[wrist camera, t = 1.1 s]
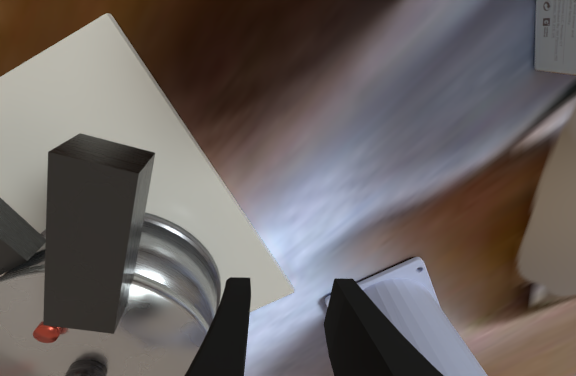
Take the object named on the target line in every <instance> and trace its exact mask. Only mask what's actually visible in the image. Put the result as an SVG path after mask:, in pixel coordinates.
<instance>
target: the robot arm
mask: <svg viewBox="0 0 576 376" xmlns="http://www.w3.org/2000/svg"><path fill="white" fill-rule="evenodd" d="M419 267H420V268H419ZM417 268H418V269H417ZM250 303H251V282H250V278H243V277H230V278H229V279H227V280H226V284H225V289H224V292H223V295H222V298H221V301H220V304H219V306H218V309H217V312H216V314H215V316H214V319H213V321H212V323H211V325H210V327H209V330H208V332H207V334H206V336H205V338H204V340H203V342H202V344H201V346H200V348H199V350H198V352H197V354H196V355H195V357H194V359H193V361H192V363H191V365H190V367H189V369H188V370H187V372H186V374H185V376H244V368H245V359H246V347H247V336H248V325H249V314H250ZM325 304H326V306H327V308H328V309H327V313H326V317H325V321H324V328H325V335H326V341H327V347H328V352H329V358H330V361H331V365H332V369H333V372H334V376H488V375H487V374H486V373H485V371H484V370H483V368H482V367H481V365H480V364H479V363H478V361H477V360H476V358H475V357H474V355H473V354H472V353H471V351H470V350H469V348H468V347H467V345H466V344H465V342H464V341H463V340H462V338H461V337H460V335H459V334H458V332H457V331H456V330H455V328H454V327H453V325H452V324H451V322H450V321H449V320H448V318H447V317H446V315H445V314H444V312H443V311H442V310H441V308H440V305H439V302H438V299H437V297H436V294H435V291H434V288H433V286H432V283H431V280H430V277H429V275H428V272H427V269H426V266H425V264H424V262H423V260H422V259H421V258H420V257H415V258H412V259H410V260H408V261H405V262H403V263H401V264H399V265H396V266H394V267H392V268H390V269H387V270H385V271H383V272H381V273H378V274H376V275H374V276H372V277H369V278H367V279H365V280H363V281H361V282H358V283H356V282H355V281H354V280H353V279H334V283H333V287H332V292H331V295H329V296H327V297H326V298H325Z"/></svg>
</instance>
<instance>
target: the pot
mask: <svg viewBox="0 0 576 376" xmlns="http://www.w3.org/2000/svg"><path fill="white" fill-rule="evenodd" d="M45 244H46V229H45V230H44V231H43V232H42V233H41V234H40V233H39V232H37V231H36V230H35V229H34V228H33V227H32V226H31V225H30V224H29V223H28V222H27V221H25V220H24V219H23V218H22V217H21V216H20V215H19V214H18V213H17V212H16V211H15V210H13V209H12V208H11V207H10V206H9V205H8V204H7V203H6V202H5V201H4V200H2V199H1V198H0V275H2V274H4V273H5V274H4V275H6V274H8V273H10V272H13V271H17V270H20V269H24V268H27V267H32V266H38V265H44V264H45ZM135 273H137V274H140V275H143V276H146V277H148V278H150V279H153V280H155V281H157V282H160V283H161V284H163V285H165V286H167V287H168V288H170V289H172V290H174V291H175V292H177V293H178V294H179V295H181V296H182V297H183V298H185V299H186V300H187V301H188V302H189V303H191V304H192V305H193V306H194V307H195V308H196V309H197V310H198V312H199V313H200V314H201V315H202V317H203V318H204V319H205V321H206V322H207V324H208V326H209V327H210V325H211V323H212V321H213V319H214V316H215V314H216V312H217V309H218V306H219V303H220V296H221V279H220V274H219V271H218V267H217V265H216V263H215V261H214V259H213V257H212V256H211V254H210V253H209V251H208V250H207V249H206V248H205V246H204V245H203V244H202V243H201V242H200V241H199V240H198V239H197V238H195V237H194V236H193V235H192V234H191V233H189V232H188V231H186V230H185V229H183V228H182V227H180V226H179V225H177V224H175V223H173V222H171V221H169V220H167V219H164V218H161V217H159V216H156V215H153V214H149V213H146V212H145V216H144V222H143V227H142V233H141V239H140V245H139V250H138V256H137V262H136V268H135Z"/></svg>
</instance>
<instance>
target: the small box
mask: <svg viewBox="0 0 576 376" xmlns="http://www.w3.org/2000/svg"><path fill="white" fill-rule="evenodd" d="M534 66H535V70H537V71H545V72H553V73H560V74H569V75H576V0H536V19H535V65H534Z"/></svg>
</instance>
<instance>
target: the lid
mask: <svg viewBox="0 0 576 376" xmlns="http://www.w3.org/2000/svg"><path fill="white" fill-rule="evenodd" d="M154 158H155V153H154V152H151V151H147V150H143V149H139V148H135V147H131V146H127V145H123V144H120V143H116V142H112V141H108V140H104V139H100V138H96V137H93V136H89V135H85V134H81V133H80V134H78V135H76V136H74V137H73V138H71V139H69V140H68V141H66V142H64V143H62V144H61V145H59V146H57V147H56V148H54V149H52V150H50V151H49V152H48V172H47V208H46V244H45V264H44V265H38V266H32V267H27V268H24V269H20V270H17V271H13V272H10V273H8V274H6V275H3V276H1V277H0V376H185V374H186V372H187V370H188V369H189V367H190V365H191V363H192V361H193V359H194V357H195V355H196V354H197V352H198V350H199V348H200V346H201V344H202V342H203V340H204V338H205V336H206V334H207V332H208V330H209V326H208V324H207V322H206V321H205V319H204V318H203V317H202V315H201V314H200V313H199V312H198V310H197V309H196V308H195V307H194V306H193V305H192V304H191V303H189V302H188V301H187V300H186V299H185V298H183V297H182V296H181V295H179V294H178V293H177V292H175V291H174V290H172V289H170V288H168V287H167V286H165V285H163V284H161V283H160V282H157V281H155V280H153V279H150V278H148V277H146V276H143V275H140V274H137V273H135V268H136V262H137V256H138V250H139V245H140V239H141V233H142V227H143V222H144V216H145V210H146V204H147V198H148V193H149V187H150V181H151V175H152V169H153V164H154Z"/></svg>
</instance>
